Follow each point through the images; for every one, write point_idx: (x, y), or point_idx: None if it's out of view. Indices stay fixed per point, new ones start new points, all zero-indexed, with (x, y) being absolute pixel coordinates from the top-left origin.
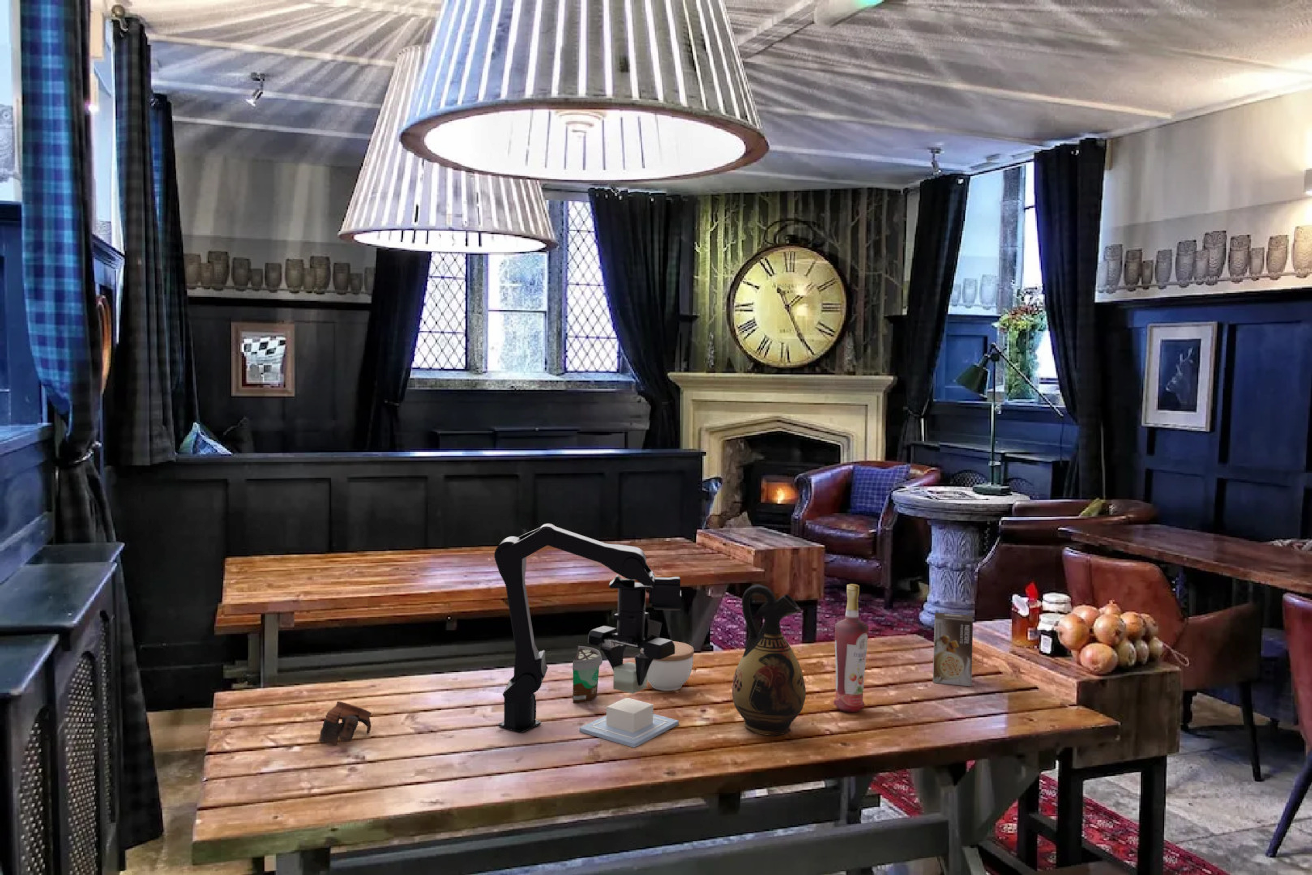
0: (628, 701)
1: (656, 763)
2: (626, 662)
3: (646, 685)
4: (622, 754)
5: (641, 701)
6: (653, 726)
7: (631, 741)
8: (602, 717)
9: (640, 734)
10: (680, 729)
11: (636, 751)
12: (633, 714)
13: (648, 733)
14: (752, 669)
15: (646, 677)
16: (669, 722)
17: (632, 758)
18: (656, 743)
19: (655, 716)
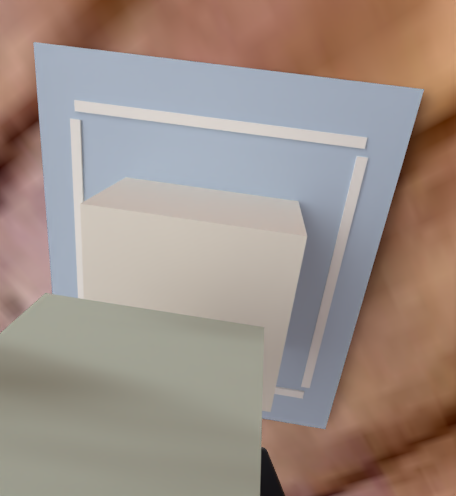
0: (136, 262)
1: (451, 488)
2: None
3: (261, 342)
4: (310, 470)
5: (207, 224)
6: (320, 242)
7: (305, 416)
8: (52, 253)
9: (306, 347)
10: (448, 156)
11: (345, 437)
12: (268, 407)
13: (334, 324)
14: None
15: (259, 408)
16: (379, 147)
17: (356, 483)
18: (389, 353)
19: (267, 102)
